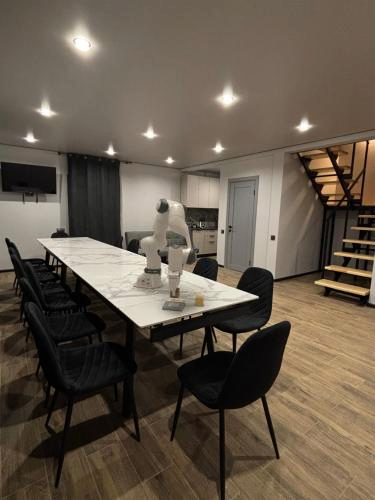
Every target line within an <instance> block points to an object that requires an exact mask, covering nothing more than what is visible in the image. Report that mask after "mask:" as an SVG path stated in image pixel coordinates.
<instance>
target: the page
mask: <svg viewBox="0 0 375 500" xmlns="http://www.w3.org/2000/svg"><path fill="white" fill-rule="evenodd" d="M166 301H173V302H183V301H184V298H170V297H169V298H168V299H167V300H166Z"/></svg>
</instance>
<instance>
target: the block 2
mask: <svg viewBox="0 0 375 500" xmlns="http://www.w3.org/2000/svg"><path fill="white" fill-rule="evenodd" d="M204 297H205V296H204V295H195V298H194V299H195V300H194V306H198V307H204Z"/></svg>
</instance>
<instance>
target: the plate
mask: <svg viewBox="0 0 375 500" xmlns="http://www.w3.org/2000/svg"><path fill="white" fill-rule="evenodd" d="M185 303H186V302H185V301H184V302H173V301H167V300H166V301H164V304H163V305H162V307H161V310H163V311H164V310H165V311H167V310H168V311H179V312H182V311H183V309H184V307H185Z"/></svg>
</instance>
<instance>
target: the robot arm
mask: <svg viewBox="0 0 375 500" xmlns="http://www.w3.org/2000/svg"><path fill="white" fill-rule="evenodd" d="M155 209H156V212H157V214H156V217H155V219H154V222H153V225H152V230H153V235H152V236H145V237H144V238H142V239H141V240H140V244H139V245H140V248H141V249H142V251H144V254H145V257H146V266H145V267H144V268H143V273H141V274H140V275H139V276H138V277H137V278H136V282H134V283H133V287H135V288H141V289H142V288H143V289H150V290H151V289H155V288H161V287H162V286H163V281H162V258H161V256H160V255H159V253H158V251H159V250H163V249H164V248H166V247H167V246H168V239H167V238H166V237H167V231H168V228H169V229H170V230H171V231H172V232H173V233H175V234H178V235H180V236H182V237H184V238H185V241H186V246H187V248H183V246H182V245H181V244H175V243H174V244H171V245H169V248H168V250H167V251H166V261H167V263H168V265H167V278H168V291H169V292H170V291H172V296H175V295H176V293H175V291H176V289H177V288H179V285H180V283H181V276H182V275H183V272H184V271H183V270H184V269H183V267H184V266H183V265H187V266H188V265H189V266H192V265H194V263H196V261H197V253H196V249H195V245H194V241H193V236H192V231H191V228H190V226H189V225H187V223H186V215H187V213H188V212H187V211H188V209H187V206H186V204H185V205H184V204H183V203H181V202H177V201H175V200H170V199H166V198H160V199H159V200H158V201H157V203H156V208H155Z"/></svg>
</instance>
